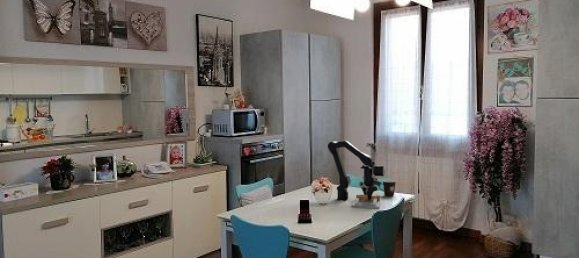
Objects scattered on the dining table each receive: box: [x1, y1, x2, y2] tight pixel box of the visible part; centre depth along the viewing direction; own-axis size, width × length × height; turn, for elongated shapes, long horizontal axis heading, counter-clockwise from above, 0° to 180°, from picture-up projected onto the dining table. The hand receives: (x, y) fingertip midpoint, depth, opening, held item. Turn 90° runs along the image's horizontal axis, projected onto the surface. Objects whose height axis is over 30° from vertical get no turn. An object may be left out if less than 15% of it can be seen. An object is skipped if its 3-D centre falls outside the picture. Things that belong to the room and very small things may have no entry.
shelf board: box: [355, 193, 381, 203], centre depth 294 cm, size 14×6×4 cm, turn 104°
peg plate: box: [350, 197, 381, 210], centre depth 281 cm, size 17×10×4 cm, turn 75°
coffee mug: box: [378, 179, 397, 197], centre depth 310 cm, size 12×9×10 cm
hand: (368, 199), depth 294 cm, fingers closed on shelf board, 6 cm apart
